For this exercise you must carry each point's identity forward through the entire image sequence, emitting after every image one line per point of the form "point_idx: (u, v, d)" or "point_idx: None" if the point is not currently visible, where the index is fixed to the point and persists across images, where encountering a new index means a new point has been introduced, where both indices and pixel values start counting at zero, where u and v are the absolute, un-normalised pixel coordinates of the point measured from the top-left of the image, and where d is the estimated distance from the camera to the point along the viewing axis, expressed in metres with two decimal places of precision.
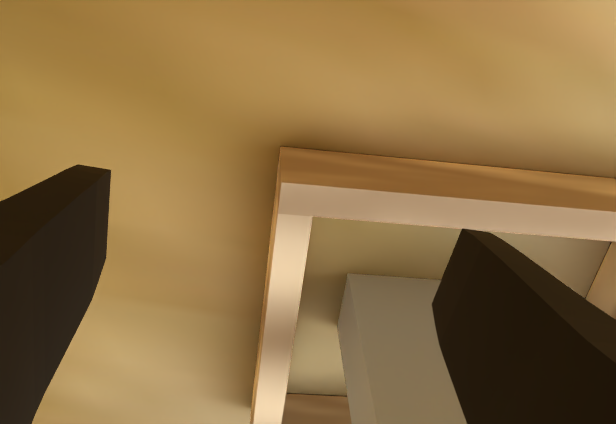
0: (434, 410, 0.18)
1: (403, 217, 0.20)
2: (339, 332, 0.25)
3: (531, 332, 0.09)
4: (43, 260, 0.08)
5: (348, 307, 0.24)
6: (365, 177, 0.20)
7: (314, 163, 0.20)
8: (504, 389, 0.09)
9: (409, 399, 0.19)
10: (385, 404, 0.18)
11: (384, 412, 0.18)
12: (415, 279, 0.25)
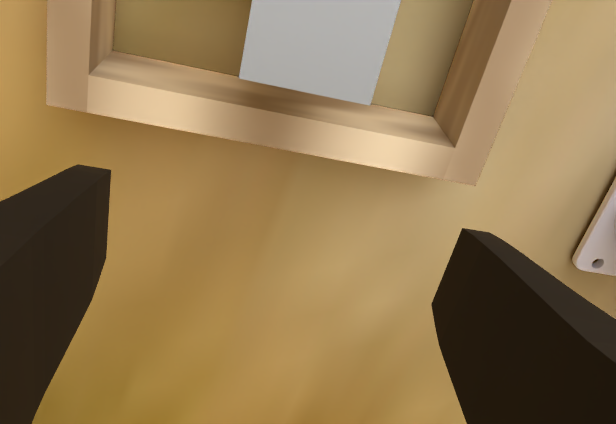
0: None
1: None
2: None
3: (531, 332, 0.09)
4: (43, 260, 0.08)
5: None
6: None
7: None
8: (504, 389, 0.09)
9: None
10: None
11: None
12: None
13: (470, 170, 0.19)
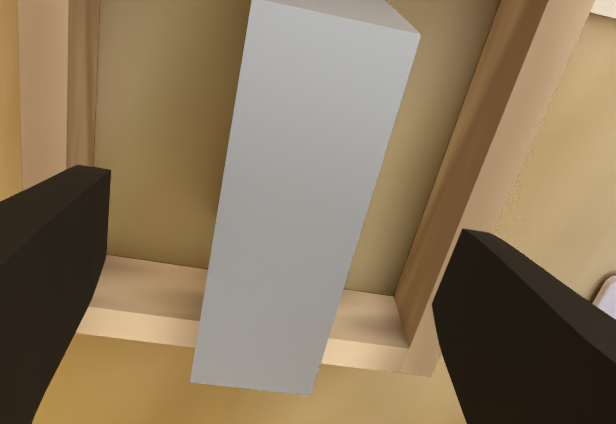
0: None
1: None
2: None
3: (531, 332, 0.09)
4: (43, 260, 0.08)
5: None
6: None
7: None
8: (504, 389, 0.09)
9: None
10: None
11: None
12: None
13: (424, 365, 0.21)
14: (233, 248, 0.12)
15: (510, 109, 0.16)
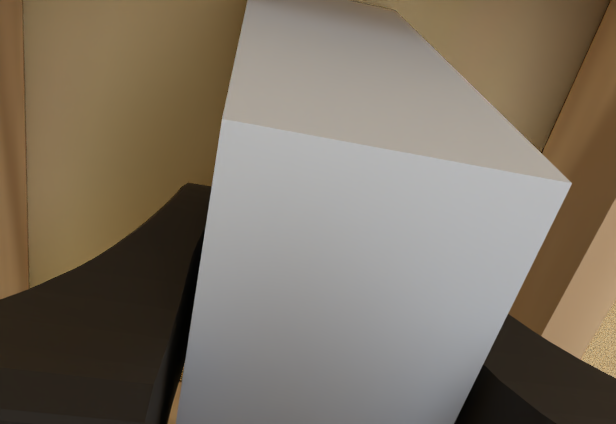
0: None
1: None
2: None
3: None
4: (189, 281, 0.08)
5: None
6: None
7: None
8: None
9: None
10: None
11: None
12: None
13: None
14: None
15: None
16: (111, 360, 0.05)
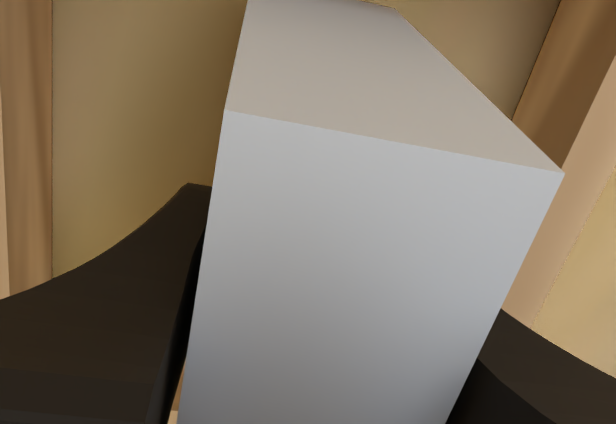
0: None
1: None
2: None
3: None
4: (190, 281, 0.08)
5: None
6: None
7: None
8: None
9: None
10: None
11: None
12: None
13: None
14: None
15: (569, 165, 0.13)
16: (111, 360, 0.05)
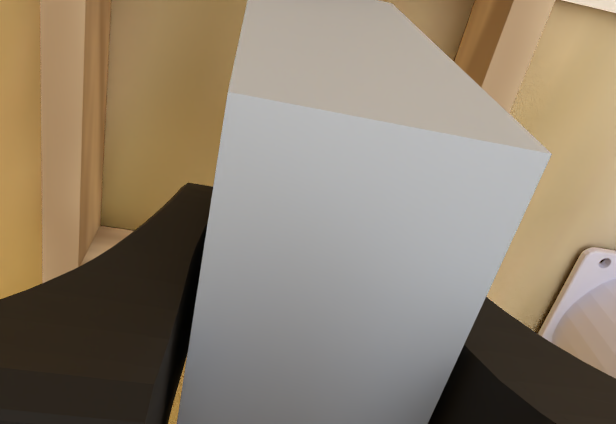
0: None
1: (71, 190, 0.18)
2: None
3: None
4: (190, 281, 0.08)
5: None
6: None
7: None
8: None
9: None
10: None
11: None
12: None
13: None
14: None
15: (486, 88, 0.18)
16: (111, 360, 0.05)
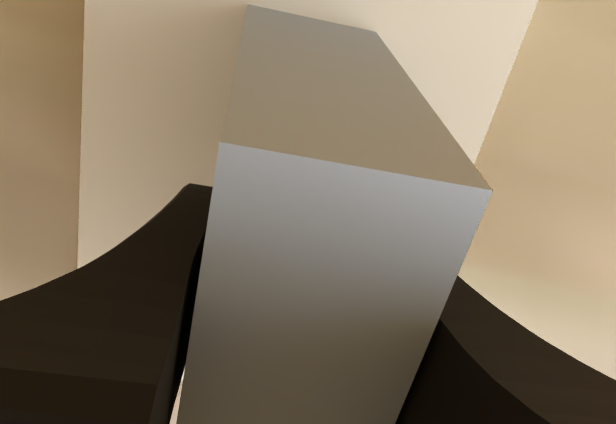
0: None
1: None
2: None
3: None
4: (191, 281, 0.08)
5: None
6: None
7: None
8: None
9: None
10: None
11: None
12: None
13: None
14: None
15: None
16: (114, 360, 0.05)
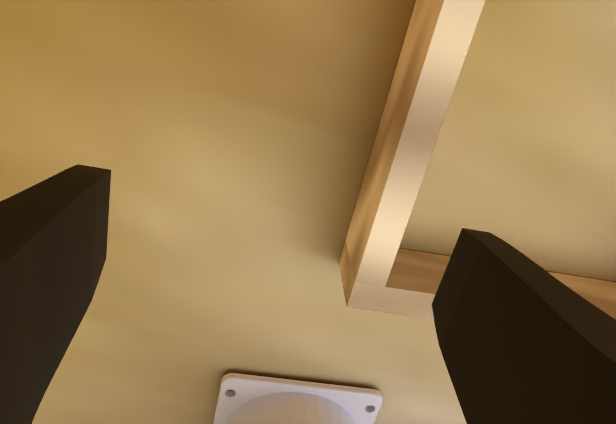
0: None
1: None
2: None
3: (531, 331, 0.09)
4: (43, 260, 0.08)
5: None
6: None
7: None
8: (504, 389, 0.09)
9: None
10: None
11: None
12: None
13: (362, 301, 0.22)
14: None
15: None
16: None
